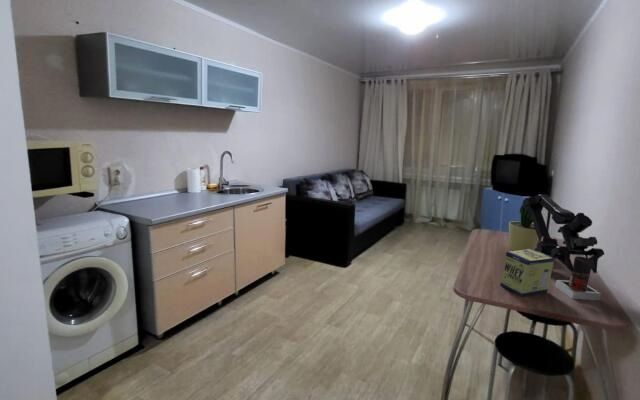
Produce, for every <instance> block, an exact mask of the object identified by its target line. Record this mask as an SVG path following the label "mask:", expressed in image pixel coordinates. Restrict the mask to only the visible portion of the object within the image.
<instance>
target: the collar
mask: <svg viewBox="0 0 640 400" xmlns="http://www.w3.org/2000/svg"><path fill="white" fill-rule="evenodd" d="M569 281H570V280H568V279H567V280H565V279H556V281H555V288H557V289H558V290H559V291H561V292H562V293H564V294H565V295H567V296H568V297H569V298H571V299H573V300H574V299H575V300H587V301H588V299H589V301H600V299H601V295H602V293H601V292H599V291H598V290H597V289H595V288H593V287H591V286H590V285H588V284H587V288H586V291H575V290H573V289H572V288H570V287H569Z"/></svg>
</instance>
